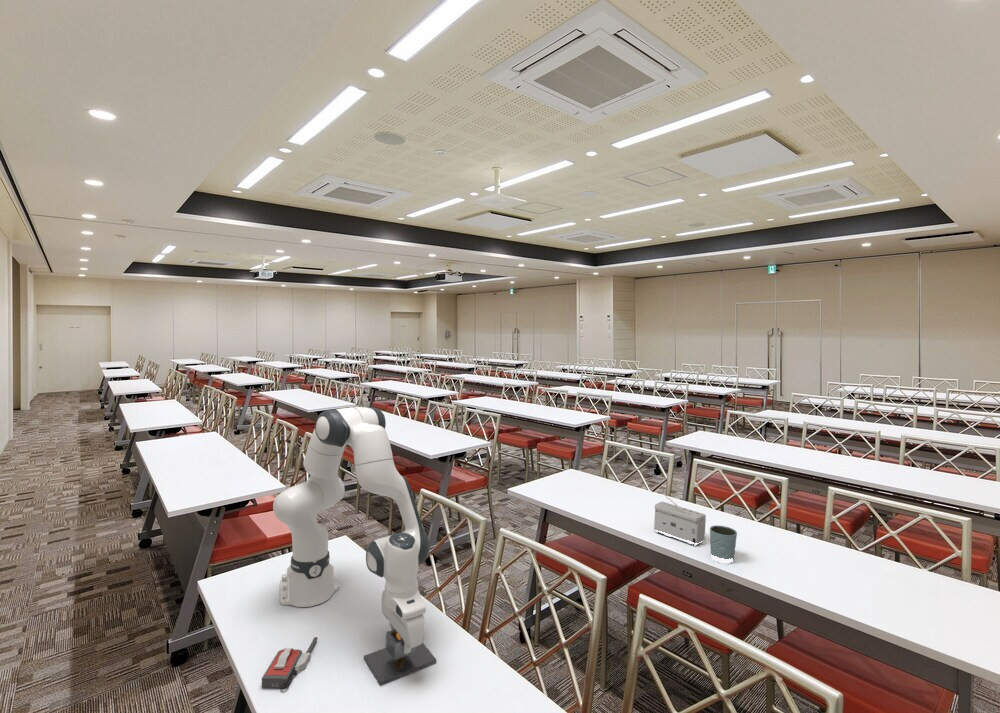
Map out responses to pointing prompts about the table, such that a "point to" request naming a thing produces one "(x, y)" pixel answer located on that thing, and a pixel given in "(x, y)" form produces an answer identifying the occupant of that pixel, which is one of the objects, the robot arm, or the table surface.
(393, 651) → the hollow square tube
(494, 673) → the table surface
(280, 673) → the walkie-talkie
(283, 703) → the table surface
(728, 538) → the grey green cup
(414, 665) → the base
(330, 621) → the table surface
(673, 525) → the stereo radio cassette player
